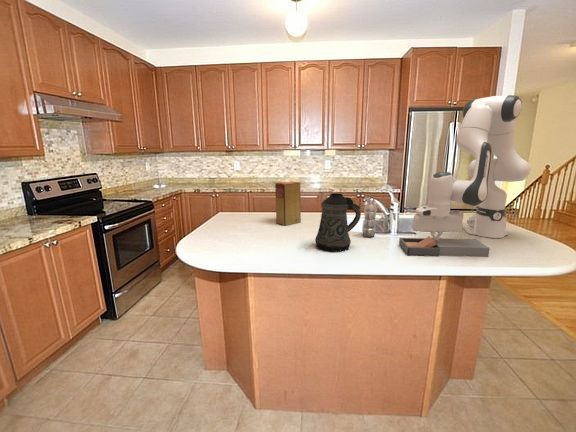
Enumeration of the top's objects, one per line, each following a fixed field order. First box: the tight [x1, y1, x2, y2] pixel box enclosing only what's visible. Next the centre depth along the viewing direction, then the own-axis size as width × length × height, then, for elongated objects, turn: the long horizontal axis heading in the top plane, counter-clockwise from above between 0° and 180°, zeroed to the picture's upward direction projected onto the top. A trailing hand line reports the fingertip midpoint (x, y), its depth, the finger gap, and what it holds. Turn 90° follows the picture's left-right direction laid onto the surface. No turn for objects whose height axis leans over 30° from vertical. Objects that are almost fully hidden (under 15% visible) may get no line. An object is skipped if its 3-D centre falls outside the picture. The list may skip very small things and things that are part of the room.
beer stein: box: [315, 192, 362, 253], centre depth 137 cm, size 16×19×25 cm
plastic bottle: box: [362, 197, 378, 237], centre depth 152 cm, size 6×7×20 cm
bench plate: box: [431, 237, 490, 258], centre depth 130 cm, size 12×20×4 cm, turn 84°
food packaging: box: [274, 181, 302, 227], centre depth 180 cm, size 13×9×25 cm
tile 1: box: [405, 242, 421, 247], centre depth 133 cm, size 6×6×2 cm
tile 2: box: [418, 236, 436, 248], centre depth 131 cm, size 6×6×2 cm
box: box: [398, 237, 440, 257], centre depth 132 cm, size 14×13×4 cm
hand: (435, 240), depth 131 cm, fingers closed
